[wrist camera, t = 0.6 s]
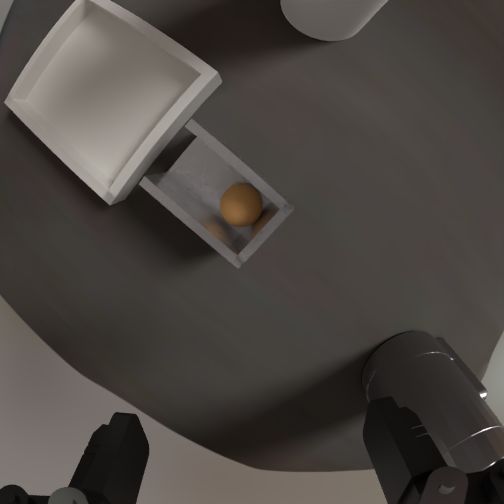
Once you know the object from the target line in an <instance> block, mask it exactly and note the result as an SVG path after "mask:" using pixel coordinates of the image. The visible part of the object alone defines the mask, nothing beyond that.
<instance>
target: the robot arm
mask: <svg viewBox="0 0 504 504" xmlns="http://www.w3.org/2000/svg"><path fill="white" fill-rule="evenodd" d="M362 385H363V389H364V391H365V393H366V397H367V399H368V402H369V405H368V409H367V414H366V419H365V423H364V427H363V439H364V443H365V446H366V449H367V451H368V454H369V456H370V459H371V461H372V464H373V466H374V469H375V471H376V474H377V476H378V479H379V482H380V484H381V487H382V489H383V492H384V495H385V497H386V500H387V502H388V504H504V426H503V425H502V423H501V422H500V421H499V420H498V418H497V417H496V415H495V414H494V413H493V411H492V410H491V409H490V407H489V406H488V405H487V403H486V402H485V399H486V397H487V390H486V388H485V387H484V386H483V384H482V383H481V382H480V381H479V380H478V378H477V377H476V376H475V375H474V374H473V372H472V371H471V370H470V369H469V368H468V366H467V365H466V364H465V363H464V362H463V361H462V359H461V358H460V357H459V356H458V355H457V354H456V353H455V351H454V350H453V349H452V348H451V347H450V346H449V345H448V343H447V342H446V341H445V340H444V339H443V338H434V337H432V336H431V335H429V334H428V333H425V332H422V331H411V332H406V333H403V334H400V335H397V336H395V337H393V338H391V339H389V340H388V341H387V342H385V343H384V344H382V345H381V346H380V347H379V348H378V349H377V350H376V351H375V352H374V353H373V354H372V356H371V357H370V358H369V359H368V361H367V363H366V365H365V367H364V370H363V373H362ZM148 456H149V444H148V440H147V438H146V435H145V433H144V431H143V428H142V426H141V423H140V421H139V418H138V416H137V415H136V414H130V413H119V412H116V413H114V414H113V416H112V418H111V420H110V423H109V425H105V424H103V425H101V426H100V427H99V428H98V429H97V430H96V431H95V432H94V433H93V435H92V437H91V439H90V441H89V443H88V446H87V447H86V449H85V451H84V454H83V455H82V458H81V460H80V462H79V464H78V466H77V468H76V471H75V473H74V475H73V477H72V479H71V482H70V484H69V486H68V487H64V488H60V489H58V490H56V491H55V492H53V493H52V495H51V496H37V495H28V494H27V493H26V492H25V490H24V489H22V488H21V487H20V486H17V485H7V486H4V487H3V488H2V489H0V504H136V501H137V497H138V493H139V490H140V485H141V482H142V478H143V475H144V471H145V467H146V464H147V460H148Z"/></svg>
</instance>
